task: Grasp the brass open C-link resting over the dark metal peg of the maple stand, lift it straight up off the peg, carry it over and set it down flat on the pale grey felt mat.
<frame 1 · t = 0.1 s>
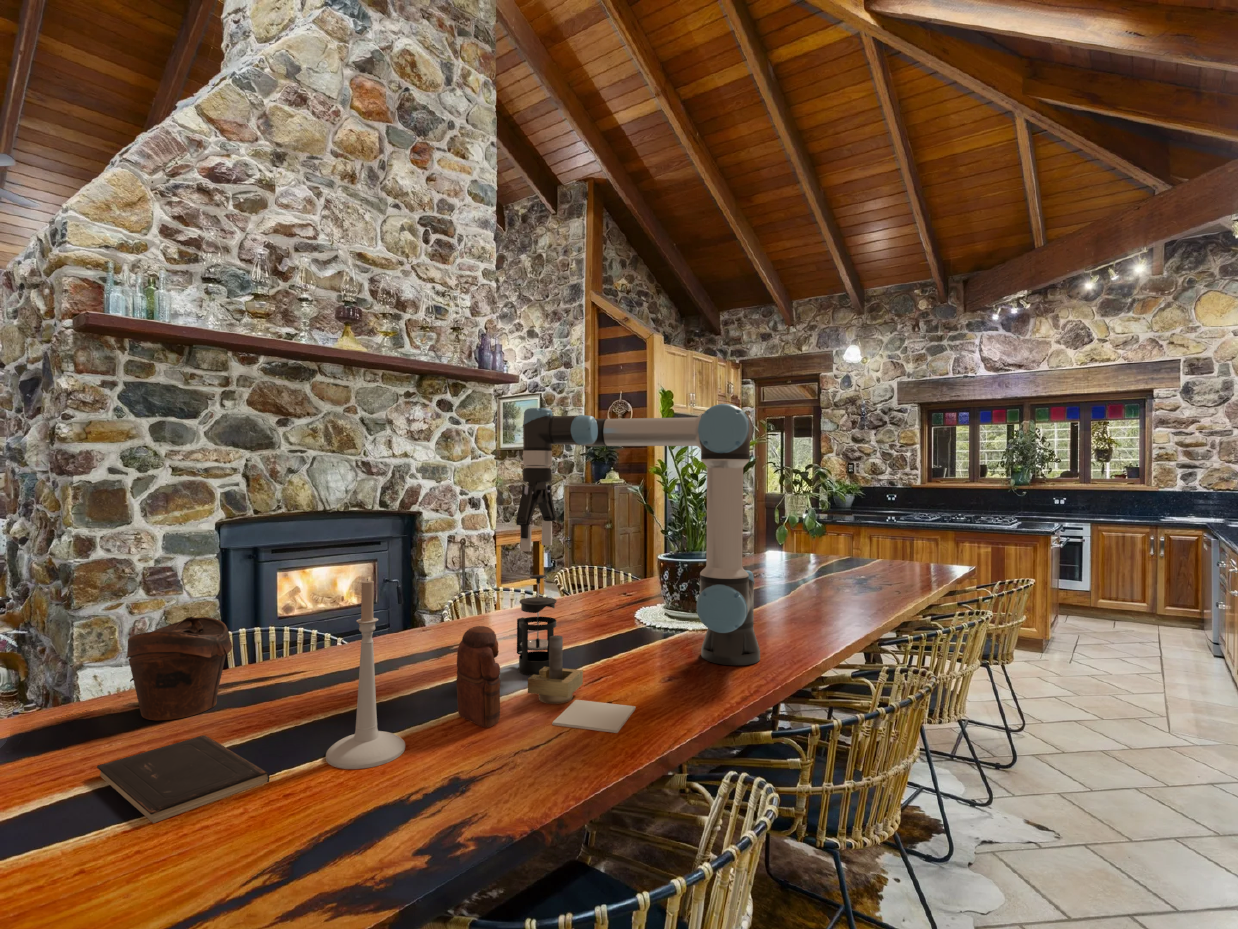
hand: (536, 548, 175), 28 cm above the table, fingers open, 13 cm apart
french press: (536, 670, 163), on the table
wooden figurine: (479, 719, 131), on the table
candlestick: (366, 753, 115), on the table
peg stand: (555, 697, 143), on the table
brass C-link: (555, 688, 143), point 2 cm above the table, touching peg stand
case: (179, 709, 135), on the table
felt mat: (595, 716, 132), on the table
hardcover book: (182, 784, 105), on the table
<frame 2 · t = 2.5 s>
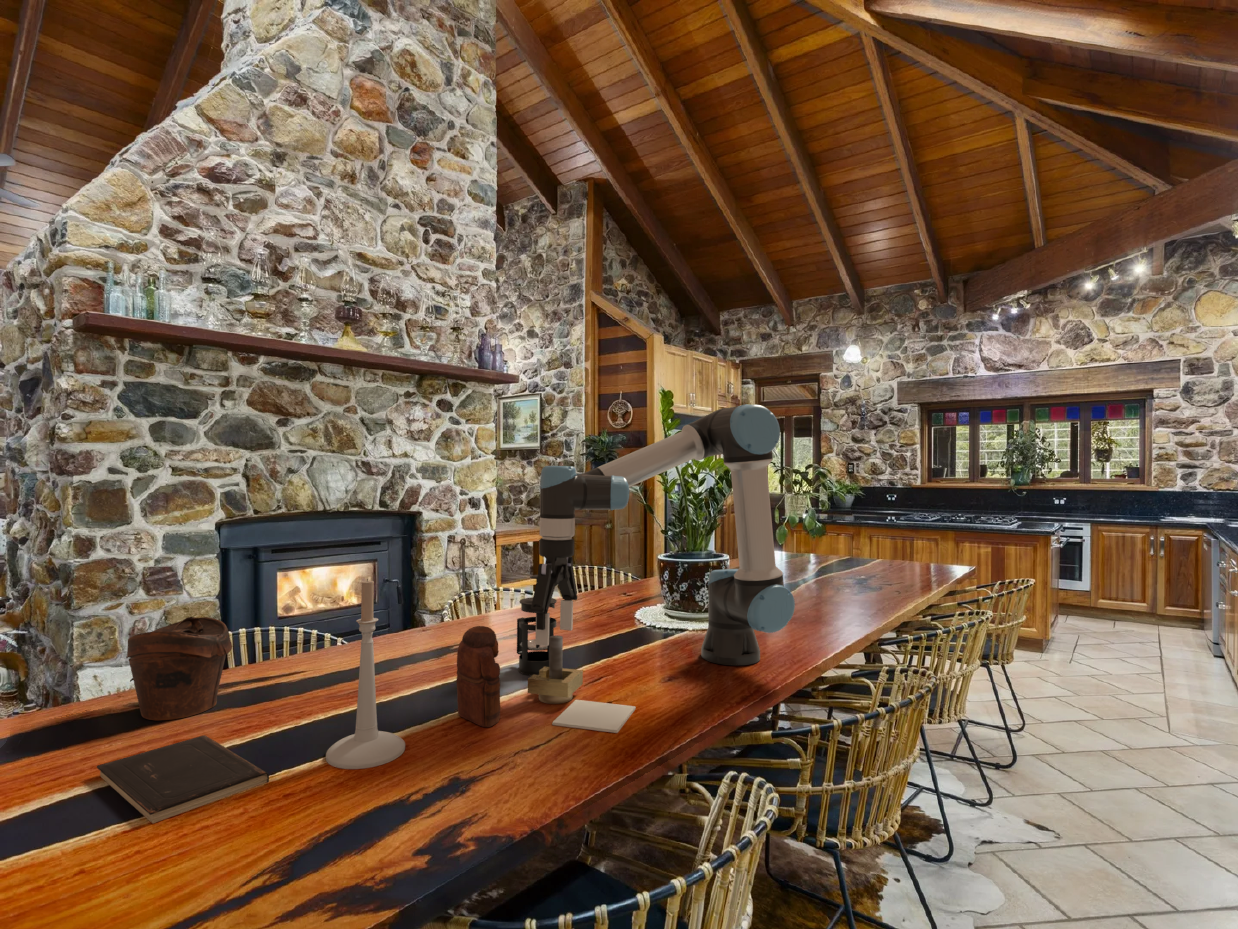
hand: (554, 637, 143), 13 cm above the table, fingers open, 13 cm apart
nothing on the table moved.
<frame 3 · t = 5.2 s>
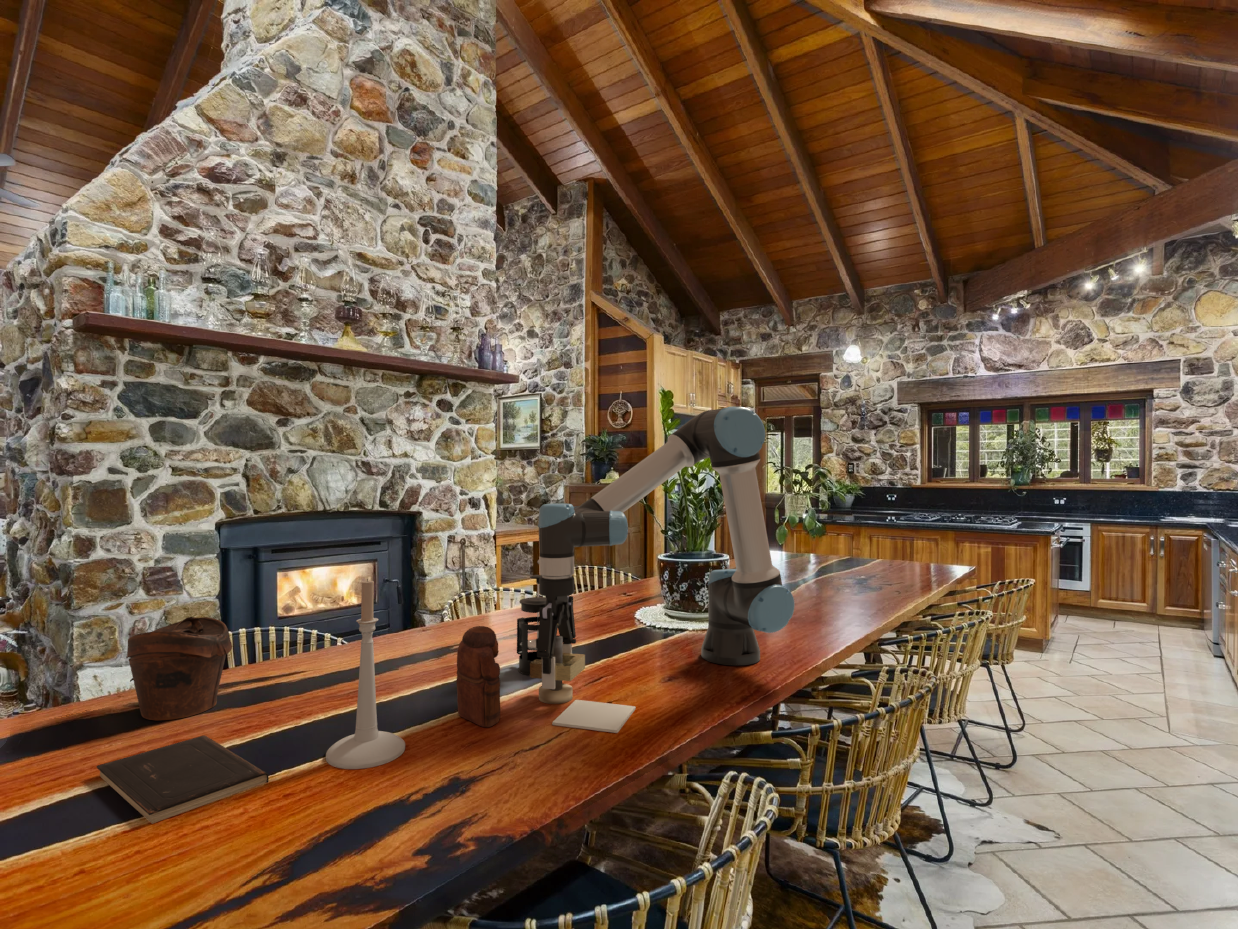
hand: (557, 680, 143), 4 cm above the table, fingers closed on brass C-link, 9 cm apart
brass C-link: (558, 672, 143), point 5 cm above the table, touching gripper
everything else where it was.
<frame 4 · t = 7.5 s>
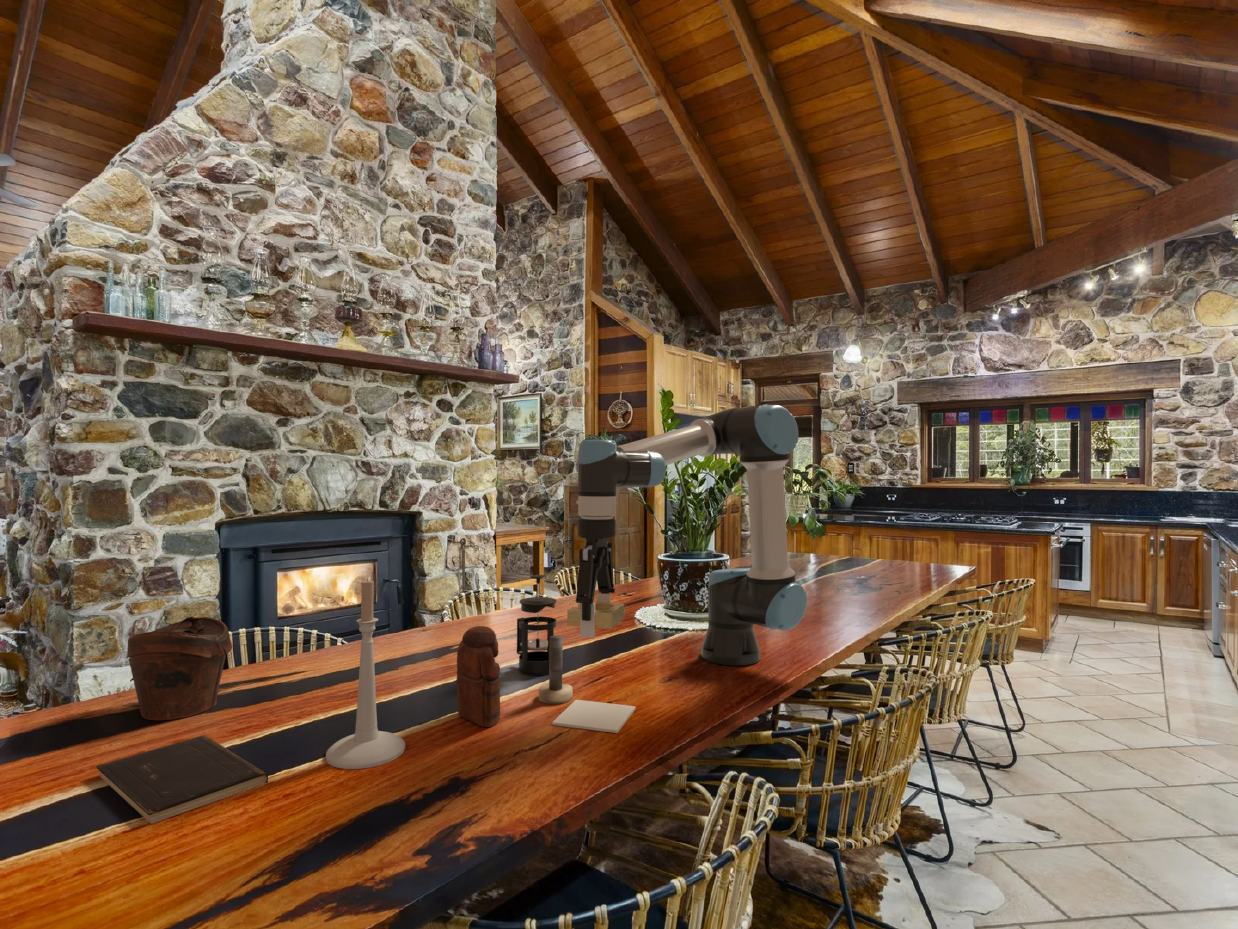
hand: (595, 630, 132), 17 cm above the table, fingers closed on brass C-link, 9 cm apart
brass C-link: (596, 622, 132), point 19 cm above the table, touching gripper
everything else where it was.
when the fingers open (1 cm above the table, at t = 10.2 s): brass C-link drops 2 cm, resting on felt mat.
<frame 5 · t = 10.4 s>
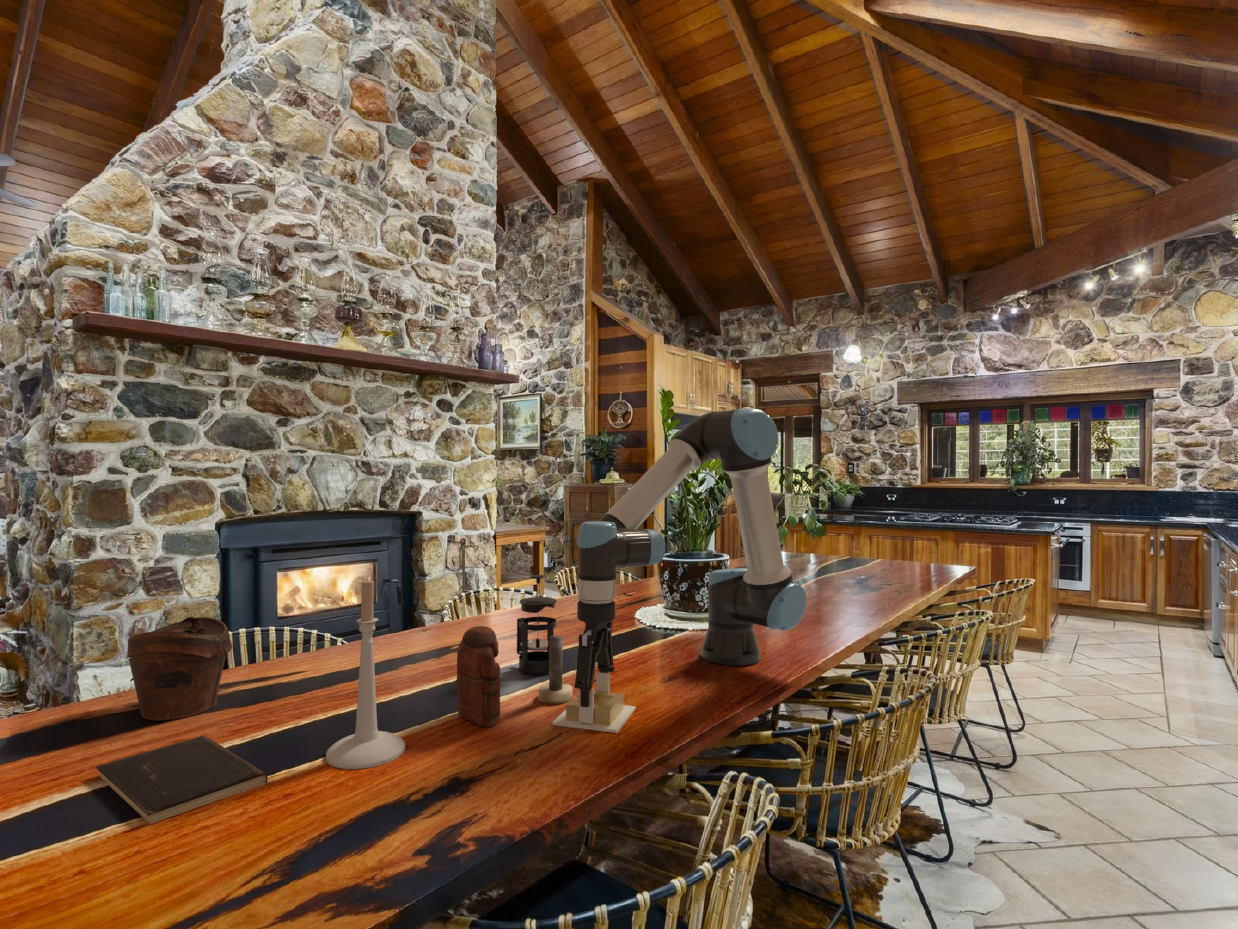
hand: (594, 713, 132), 1 cm above the table, fingers open, 9 cm apart
brass C-link: (595, 714, 132), resting on felt mat
everything else where it was.
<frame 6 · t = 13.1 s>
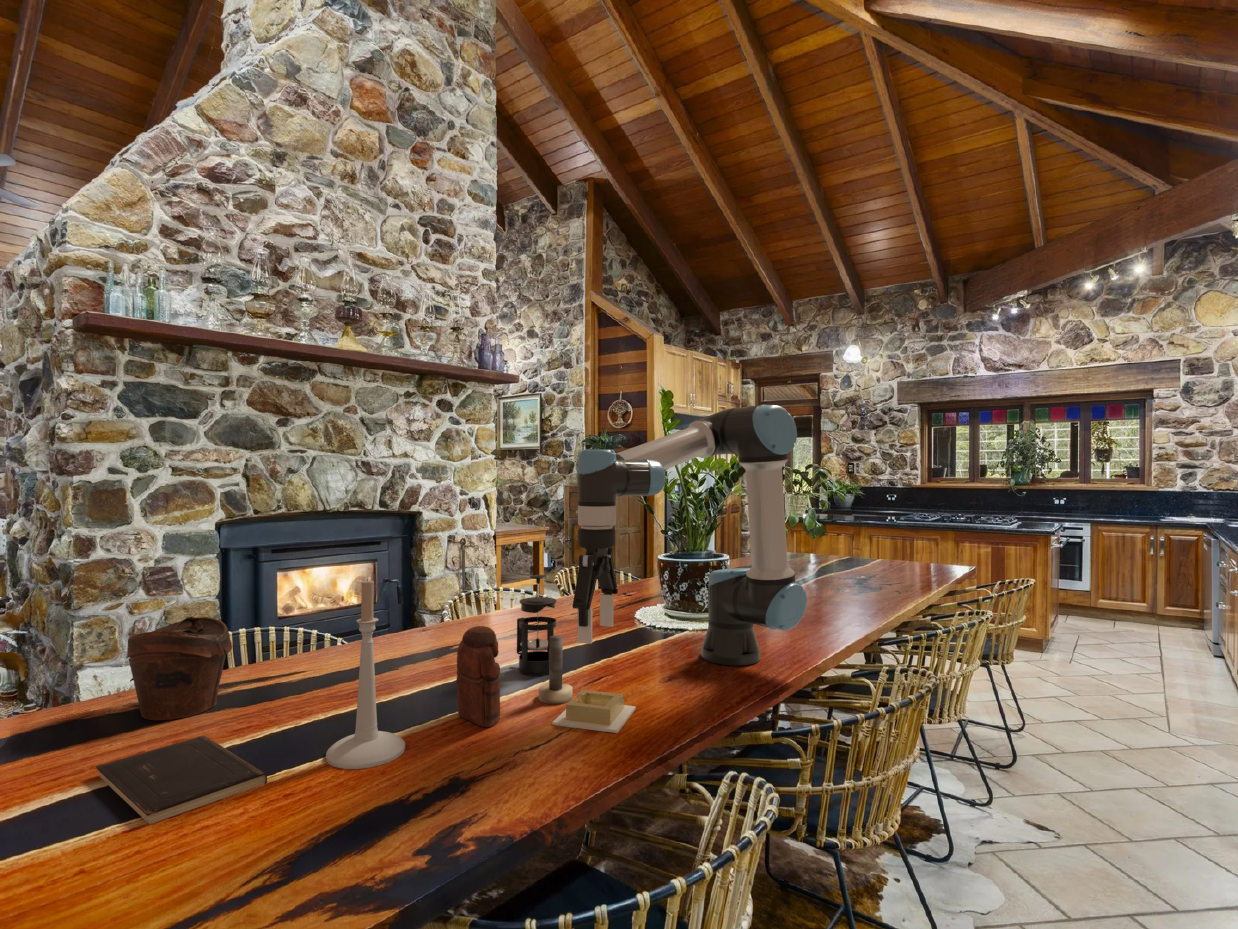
hand: (596, 634, 132), 16 cm above the table, fingers open, 13 cm apart
nothing on the table moved.
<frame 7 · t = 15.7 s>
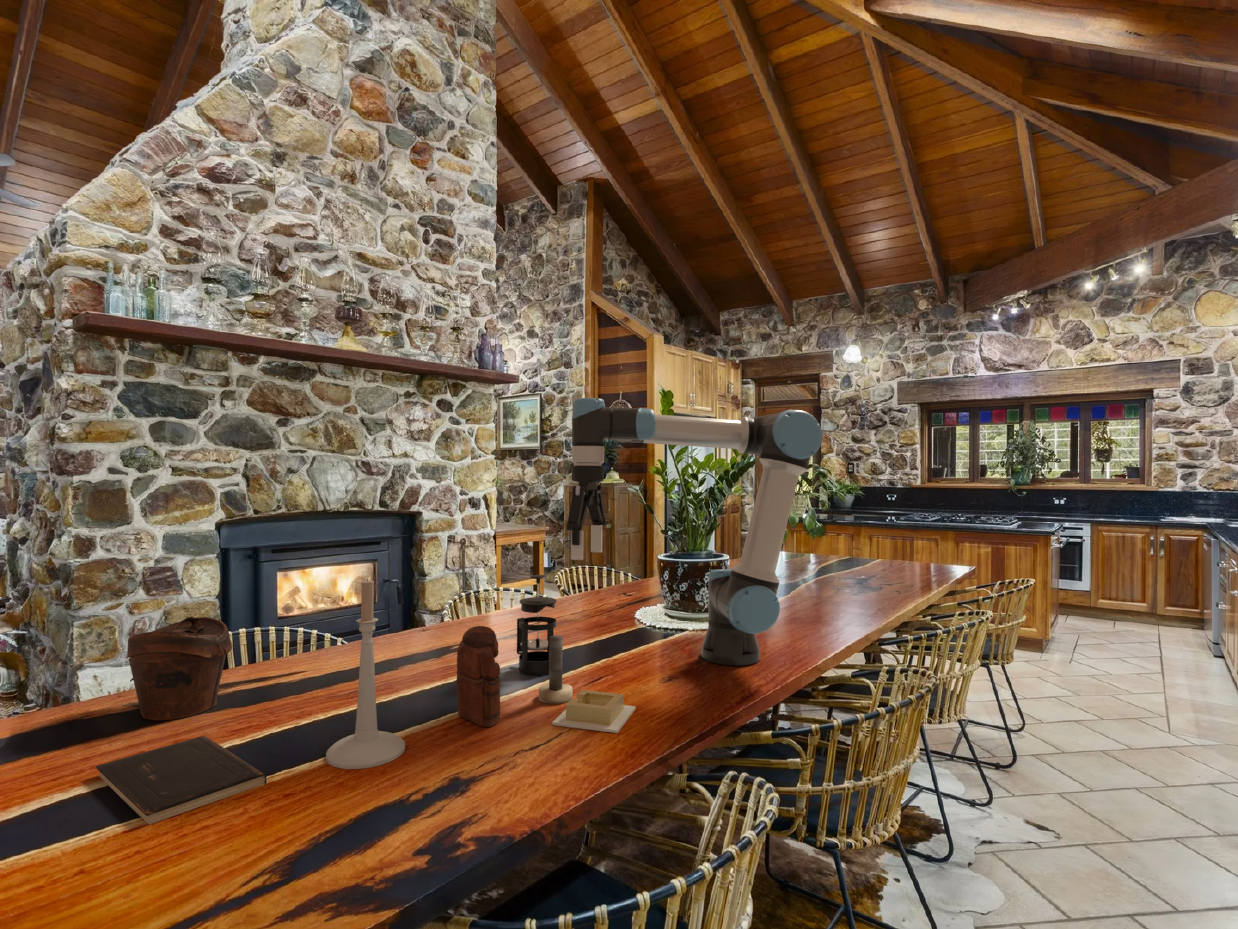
hand: (587, 555, 156), 29 cm above the table, fingers open, 13 cm apart
nothing on the table moved.
at the end: brass C-link inside the target area on the felt mat (0.2 cm from its centre), point 0.5 cm above the felt mat's base; the gripper is holding nothing; brass C-link moved 14.0 cm from its start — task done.
